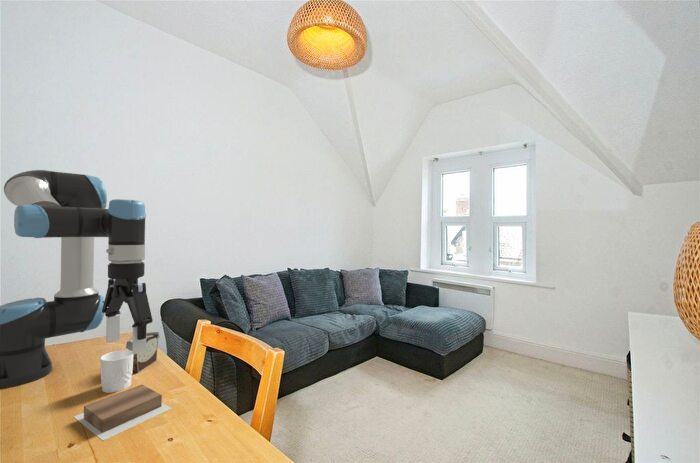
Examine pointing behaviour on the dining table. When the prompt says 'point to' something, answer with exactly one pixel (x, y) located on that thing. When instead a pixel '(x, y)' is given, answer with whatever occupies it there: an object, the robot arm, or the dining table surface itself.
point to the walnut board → (122, 407)
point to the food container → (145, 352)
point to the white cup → (116, 370)
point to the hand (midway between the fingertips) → (125, 346)
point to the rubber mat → (123, 426)
